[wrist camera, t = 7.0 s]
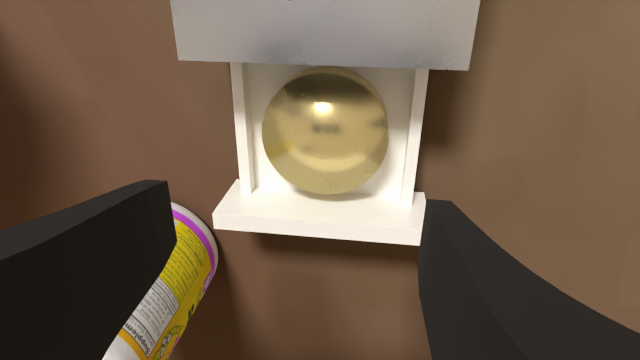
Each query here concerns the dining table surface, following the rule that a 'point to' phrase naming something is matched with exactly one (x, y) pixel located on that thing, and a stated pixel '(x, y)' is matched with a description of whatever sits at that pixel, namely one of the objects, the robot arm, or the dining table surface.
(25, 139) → the dining table surface
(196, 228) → the supplement bottle
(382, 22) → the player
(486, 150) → the dining table surface
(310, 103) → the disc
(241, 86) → the tray
